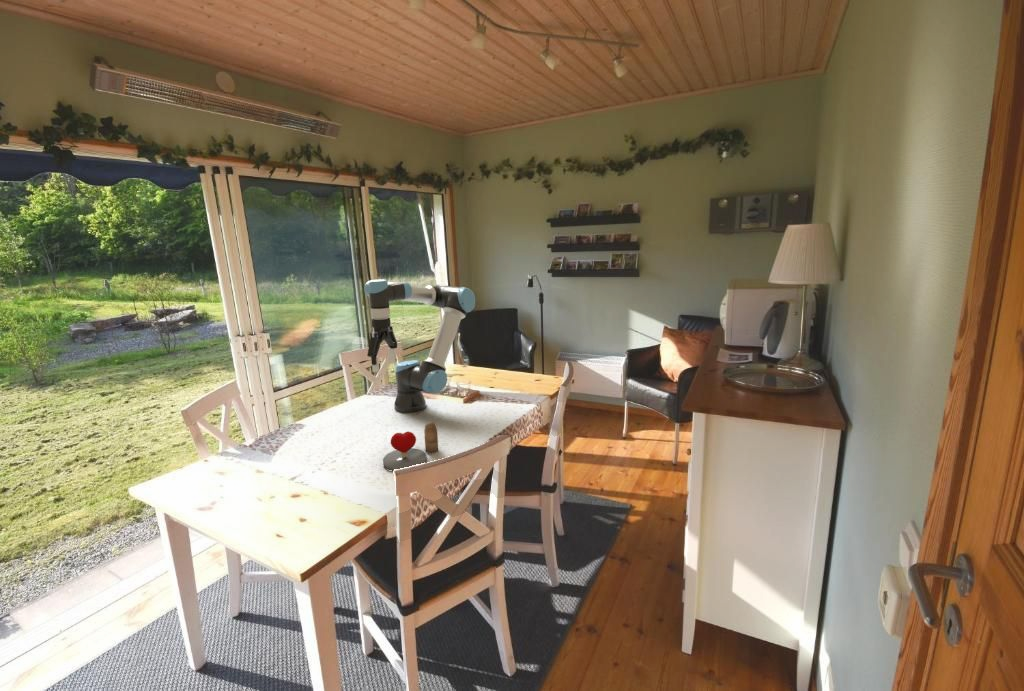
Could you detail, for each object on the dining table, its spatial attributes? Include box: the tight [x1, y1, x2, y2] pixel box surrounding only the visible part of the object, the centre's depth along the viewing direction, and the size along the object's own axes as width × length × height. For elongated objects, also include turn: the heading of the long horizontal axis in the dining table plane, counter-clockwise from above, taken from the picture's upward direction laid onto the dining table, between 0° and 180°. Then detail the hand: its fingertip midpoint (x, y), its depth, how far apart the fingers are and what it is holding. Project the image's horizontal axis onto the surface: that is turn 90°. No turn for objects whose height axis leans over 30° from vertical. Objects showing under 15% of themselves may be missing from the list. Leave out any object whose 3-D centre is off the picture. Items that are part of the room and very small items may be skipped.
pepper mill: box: [423, 421, 439, 454], centre depth 187 cm, size 5×5×12 cm
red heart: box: [390, 431, 417, 458], centre depth 178 cm, size 9×7×10 cm
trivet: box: [382, 447, 427, 472], centre depth 179 cm, size 16×16×2 cm
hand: (384, 367), depth 200 cm, fingers open, 13 cm apart
